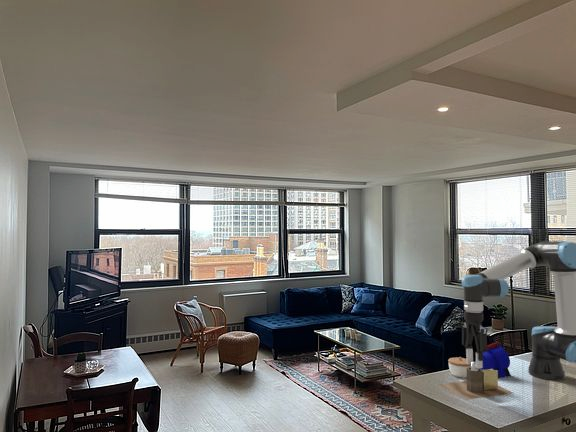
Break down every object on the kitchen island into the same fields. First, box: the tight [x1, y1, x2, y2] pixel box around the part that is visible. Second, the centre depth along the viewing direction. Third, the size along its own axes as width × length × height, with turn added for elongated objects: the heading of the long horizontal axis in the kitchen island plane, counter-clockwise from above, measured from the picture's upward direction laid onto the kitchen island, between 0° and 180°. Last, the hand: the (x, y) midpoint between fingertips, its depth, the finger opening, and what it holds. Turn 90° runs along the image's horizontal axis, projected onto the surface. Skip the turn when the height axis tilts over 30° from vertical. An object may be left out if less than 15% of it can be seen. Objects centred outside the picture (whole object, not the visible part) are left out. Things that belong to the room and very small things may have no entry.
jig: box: [438, 367, 514, 400], centre depth 184 cm, size 24×18×10 cm
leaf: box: [483, 370, 499, 390], centre depth 182 cm, size 7×1×8 cm, turn 103°
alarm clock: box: [480, 341, 512, 379], centre depth 207 cm, size 12×12×15 cm
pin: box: [471, 360, 478, 371], centre depth 181 cm, size 3×3×12 cm
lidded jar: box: [447, 356, 471, 378], centre depth 202 cm, size 11×11×9 cm
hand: (474, 365), depth 181 cm, fingers open, 5 cm apart
